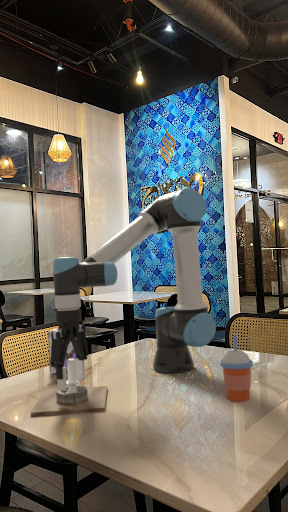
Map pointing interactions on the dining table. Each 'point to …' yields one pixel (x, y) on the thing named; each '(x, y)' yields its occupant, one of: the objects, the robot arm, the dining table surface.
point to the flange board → (71, 401)
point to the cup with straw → (237, 374)
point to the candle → (72, 376)
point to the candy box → (69, 353)
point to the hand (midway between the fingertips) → (71, 385)
